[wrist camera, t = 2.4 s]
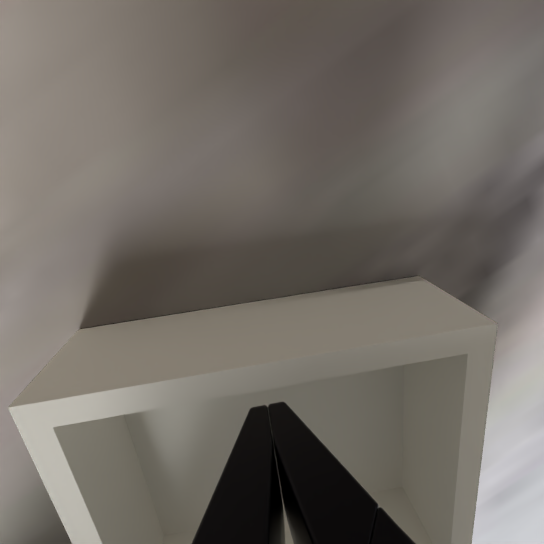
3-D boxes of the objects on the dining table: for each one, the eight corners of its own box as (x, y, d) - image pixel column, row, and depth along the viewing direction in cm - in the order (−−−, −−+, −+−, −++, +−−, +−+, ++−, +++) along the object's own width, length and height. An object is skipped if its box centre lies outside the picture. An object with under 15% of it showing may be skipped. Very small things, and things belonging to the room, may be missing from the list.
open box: (412, 485, 21) (466, 581, 16) (152, 539, 19) (127, 660, 15) (419, 275, 16) (497, 323, 11) (78, 329, 15) (7, 407, 10)
